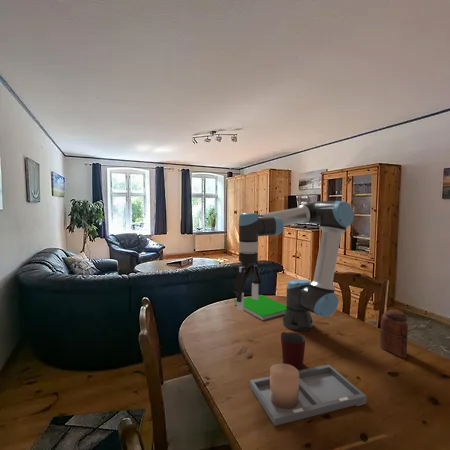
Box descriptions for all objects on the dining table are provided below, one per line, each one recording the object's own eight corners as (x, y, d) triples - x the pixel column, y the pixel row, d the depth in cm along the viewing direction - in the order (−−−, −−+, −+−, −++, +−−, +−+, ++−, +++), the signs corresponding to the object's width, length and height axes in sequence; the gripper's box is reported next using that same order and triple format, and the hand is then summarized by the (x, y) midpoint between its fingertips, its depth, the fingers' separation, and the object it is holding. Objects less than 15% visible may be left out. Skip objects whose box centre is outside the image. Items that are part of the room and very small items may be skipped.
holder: (328, 371, 105) (329, 363, 105) (366, 403, 88) (366, 395, 88) (249, 387, 96) (249, 379, 95) (274, 427, 79) (274, 418, 78)
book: (262, 321, 150) (262, 316, 150) (233, 305, 174) (233, 300, 174) (292, 313, 162) (292, 308, 162) (261, 298, 186) (261, 294, 186)
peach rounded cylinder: (289, 387, 95) (289, 361, 94) (304, 405, 87) (305, 377, 86) (264, 392, 92) (265, 366, 92) (277, 411, 84) (278, 382, 83)
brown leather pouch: (412, 355, 116) (415, 313, 115) (403, 359, 113) (406, 316, 112) (384, 343, 127) (386, 304, 125) (375, 346, 124) (377, 306, 122)
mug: (272, 357, 114) (273, 331, 114) (290, 353, 118) (291, 327, 117) (289, 374, 103) (290, 345, 103) (309, 368, 107) (310, 340, 106)
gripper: (252, 246, 124) (252, 293, 126) (224, 256, 103) (224, 312, 104) (268, 248, 120) (268, 296, 122) (242, 258, 99) (242, 316, 100)
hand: (247, 304), depth 113 cm, fingers open, 13 cm apart
